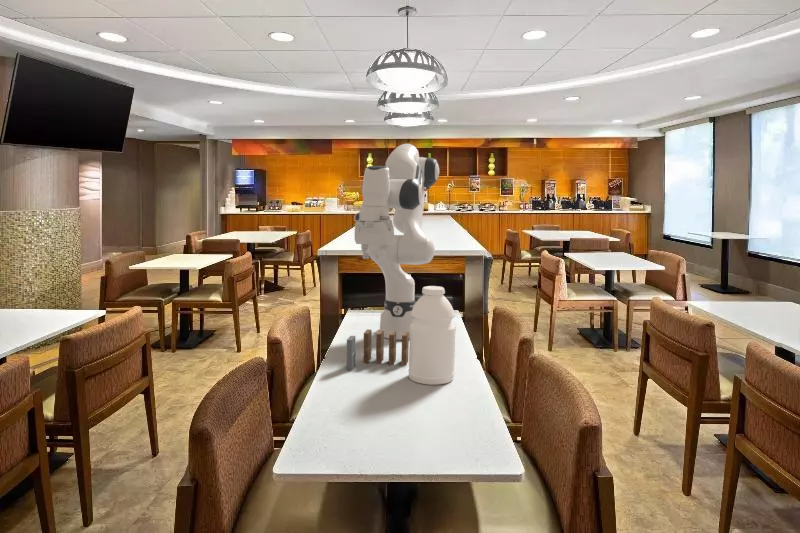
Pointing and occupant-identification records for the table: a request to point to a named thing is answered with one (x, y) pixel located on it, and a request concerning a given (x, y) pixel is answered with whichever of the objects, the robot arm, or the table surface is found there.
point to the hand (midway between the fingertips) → (372, 259)
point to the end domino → (350, 353)
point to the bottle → (432, 338)
